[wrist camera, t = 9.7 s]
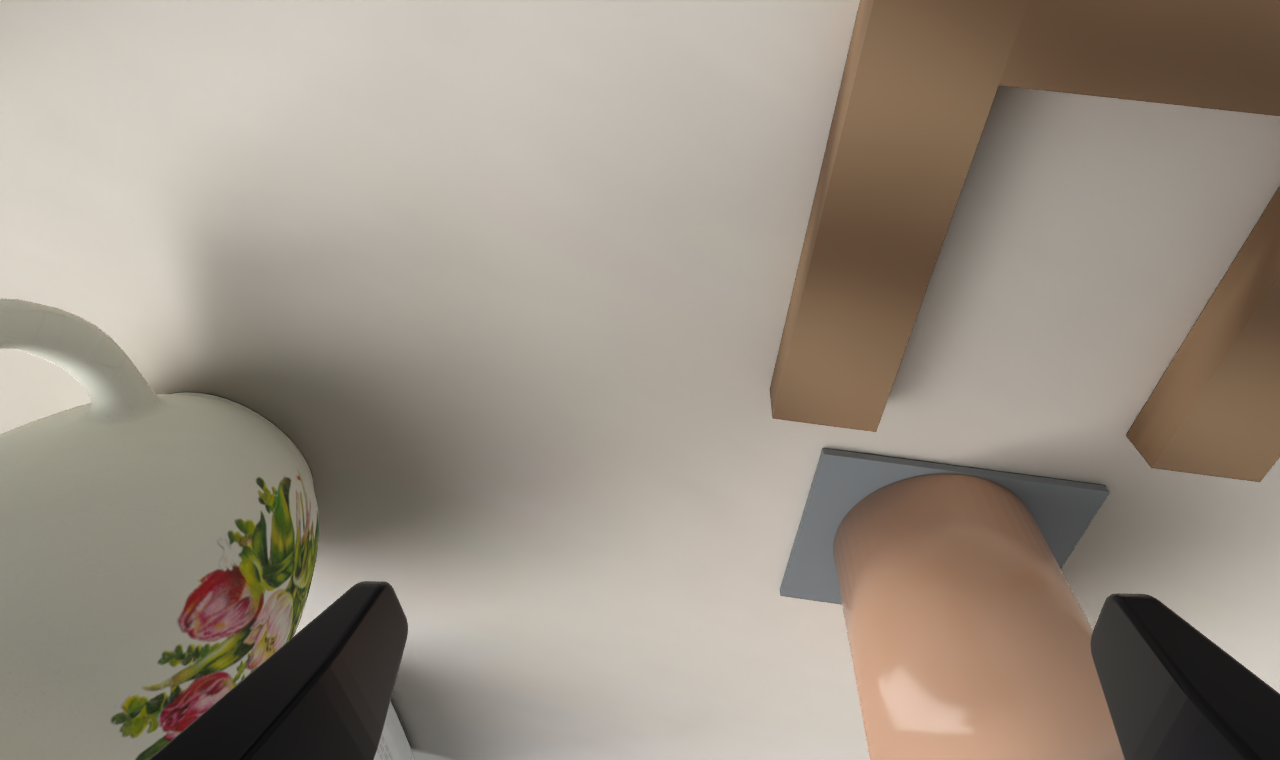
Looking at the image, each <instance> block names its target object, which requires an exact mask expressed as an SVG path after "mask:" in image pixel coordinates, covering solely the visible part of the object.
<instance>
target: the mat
mask: <svg viewBox="0 0 1280 760" xmlns="http://www.w3.org/2000/svg"><path fill="white" fill-rule="evenodd" d="M946 473H949V474H963V475H970V476H976V477H979V478H983V479H987V480H990V481H992V482H995V483H997V484H1000V485H1001V486H1003V487H1005V488H1007V489H1008V490H1010V491H1011V492H1013V493H1014V494H1015V495H1017V496H1018V497H1019V498H1020V499H1021V500H1022V501H1023V502H1024V504H1025V505H1026V506H1027V508H1028V509H1029V511H1030V513H1031V514H1032V516H1033V518H1034V520H1035V522H1036V524H1037V526H1038V528H1039V529H1040V531H1041V533H1042V535H1043V537H1044V539H1045V541H1046V543H1047V544H1048V546H1049V548H1050V550H1051V552H1052V554H1053V556H1054V558H1055V560H1056V561H1057V563H1058V565H1059V567H1060V569H1061V568H1062V566H1063V565H1064V563H1065V561H1066V560H1067V558H1068V557H1069V555H1070V554H1071V552H1072V550H1073V549H1074V547H1075V546H1076V544H1077V543H1078V541H1079V539H1080V538H1081V536H1082V535H1083V533H1084V532H1085V530H1086V529H1087V527H1088V525H1089V524H1090V522H1091V521H1092V519H1093V518H1094V516H1095V514H1096V513H1097V511H1098V510H1099V508H1100V507H1101V505H1102V503H1103V502H1104V500H1105V499H1106V497H1107V496H1108V494H1109V490H1108V489H1107V487H1106V486H1105V485H1097V484H1090V483H1082V482H1075V481H1067V480H1059V479H1052V478H1044V477H1037V476H1029V475H1022V474H1014V473H1006V472H999V471H991V470H984V469H976V468H969V467H961V466H953V465H946V464H938V463H931V462H923V461H916V460H908V459H901V458H893V457H885V456H878V455H870V454H863V453H855V452H848V451H840V450H832V449H825V448H823V449H822V452H821V456H820V459H819V462H818V466H817V469H816V472H815V475H814V479H813V482H812V485H811V489H810V492H809V495H808V499H807V502H806V505H805V508H804V512H803V515H802V518H801V522H800V525H799V528H798V532H797V535H796V538H795V541H794V545H793V548H792V551H791V555H790V558H789V561H788V565H787V568H786V571H785V574H784V578H783V581H782V584H781V588H780V596H785V597H792V598H800V599H807V600H814V601H821V602H828V603H835V604H842V600H841V595H840V589H839V584H838V578H837V573H836V567H835V562H834V556H833V542H834V538H835V534H836V532H837V529H838V527H839V525H840V523H841V522H842V520H843V518H844V517H845V516H846V515H847V514H848V512H849V511H850V510H851V509H852V508H853V507H854V506H855V505H856V504H858V503H859V502H860V501H861V500H863V499H864V498H865V497H867V496H868V495H870V494H872V493H873V492H875V491H877V490H879V489H880V488H883V487H885V486H887V485H890V484H892V483H895V482H898V481H901V480H904V479H908V478H912V477H917V476H922V475H930V474H946Z"/></svg>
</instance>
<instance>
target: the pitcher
mask: <svg viewBox="0 0 1280 760" xmlns="http://www.w3.org/2000/svg"><path fill="white" fill-rule="evenodd" d="M1 348H5V349H17V350H21V351H23V352H26V353H29V354H32V355H34V356H37V357H39V358H42V359H44V360H46V361H49V362H51V363H53V364H55V365H56V366H58V367H60V368H62V369H63V370H65V371H66V372H67V373H69V374H70V375H71V376H72V377H73V378H75V379H76V380H77V382H78V383H79V384H80V385H81V386H82V387H83V388H84V390H85V391H86V393H87V394H88V396H89V398H90V399H91V403H89V404H85V405H81V406H78V407H75V408H72V409H69V410H66V411H63V412H60V413H57V414H54V415H51V416H48V417H45V418H42V419H39V420H36V421H33V422H30V423H28V424H25V425H23V426H20V427H18V428H15V429H13V430H11V431H8V432H6V433H3V434H1V435H0V760H149V759H150V758H151V757H153V756H154V755H155V754H156V753H157V752H158V751H160V750H161V749H162V748H163V747H164V746H165V745H167V744H168V743H169V742H170V741H171V740H173V739H174V738H175V737H176V736H177V735H178V734H180V733H181V732H182V731H183V730H184V729H186V728H187V727H188V726H189V725H190V724H191V723H193V722H194V721H195V720H196V719H197V718H198V717H200V716H201V715H202V714H203V713H204V712H206V711H207V710H208V709H209V708H210V707H211V706H213V705H214V704H215V703H216V702H217V701H218V700H220V699H221V698H222V697H223V696H224V695H226V694H227V693H228V692H229V691H230V690H231V689H233V688H234V687H235V686H236V685H237V684H239V683H240V682H241V681H242V680H243V679H244V678H246V677H247V676H248V675H249V674H250V673H251V672H253V671H254V670H255V669H256V668H257V667H259V666H260V665H261V664H262V663H263V662H264V661H266V660H267V659H268V658H269V657H270V656H271V655H273V654H274V653H275V652H276V651H277V650H279V649H280V648H281V647H282V646H283V645H284V644H286V643H287V642H288V641H289V640H290V639H292V638H293V636H294V634H295V632H296V629H297V627H298V624H299V622H300V619H301V616H302V613H303V609H304V606H305V603H306V600H307V597H308V593H309V589H310V585H311V580H312V576H313V571H314V567H315V563H316V556H317V549H318V540H319V513H318V506H317V501H316V496H315V492H314V484H313V478H312V475H311V472H310V469H309V467H308V464H307V462H306V460H305V459H304V457H303V456H302V454H301V452H300V451H299V450H298V448H297V447H296V446H295V445H294V443H293V442H292V441H291V440H290V439H289V438H288V437H287V436H286V435H285V434H284V433H283V432H282V431H281V430H280V429H278V428H277V427H276V426H275V425H274V424H272V423H271V422H270V421H268V420H267V419H265V418H264V417H263V416H261V415H259V414H257V413H256V412H254V411H252V410H251V409H249V408H247V407H245V406H242V405H240V404H238V403H236V402H233V401H230V400H228V399H225V398H221V397H217V396H214V395H208V394H203V393H193V392H179V393H173V394H156V393H155V392H154V391H153V390H152V389H151V388H150V386H149V385H148V383H147V382H146V381H145V379H144V378H143V376H142V375H141V373H140V372H139V371H138V369H137V368H136V366H135V365H134V364H133V362H132V361H131V360H130V359H129V357H128V356H127V355H126V353H125V352H124V351H123V350H122V349H121V348H120V347H119V346H118V344H117V343H116V342H115V341H114V340H113V339H112V338H111V337H110V336H108V335H107V334H106V333H105V332H103V331H102V330H101V329H99V328H98V327H97V326H95V325H93V324H92V323H90V322H88V321H86V320H84V319H83V318H81V317H79V316H76V315H74V314H71V313H69V312H66V311H63V310H61V309H58V308H55V307H50V306H46V305H41V304H37V303H32V302H28V301H23V300H18V299H0V349H1Z"/></svg>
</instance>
